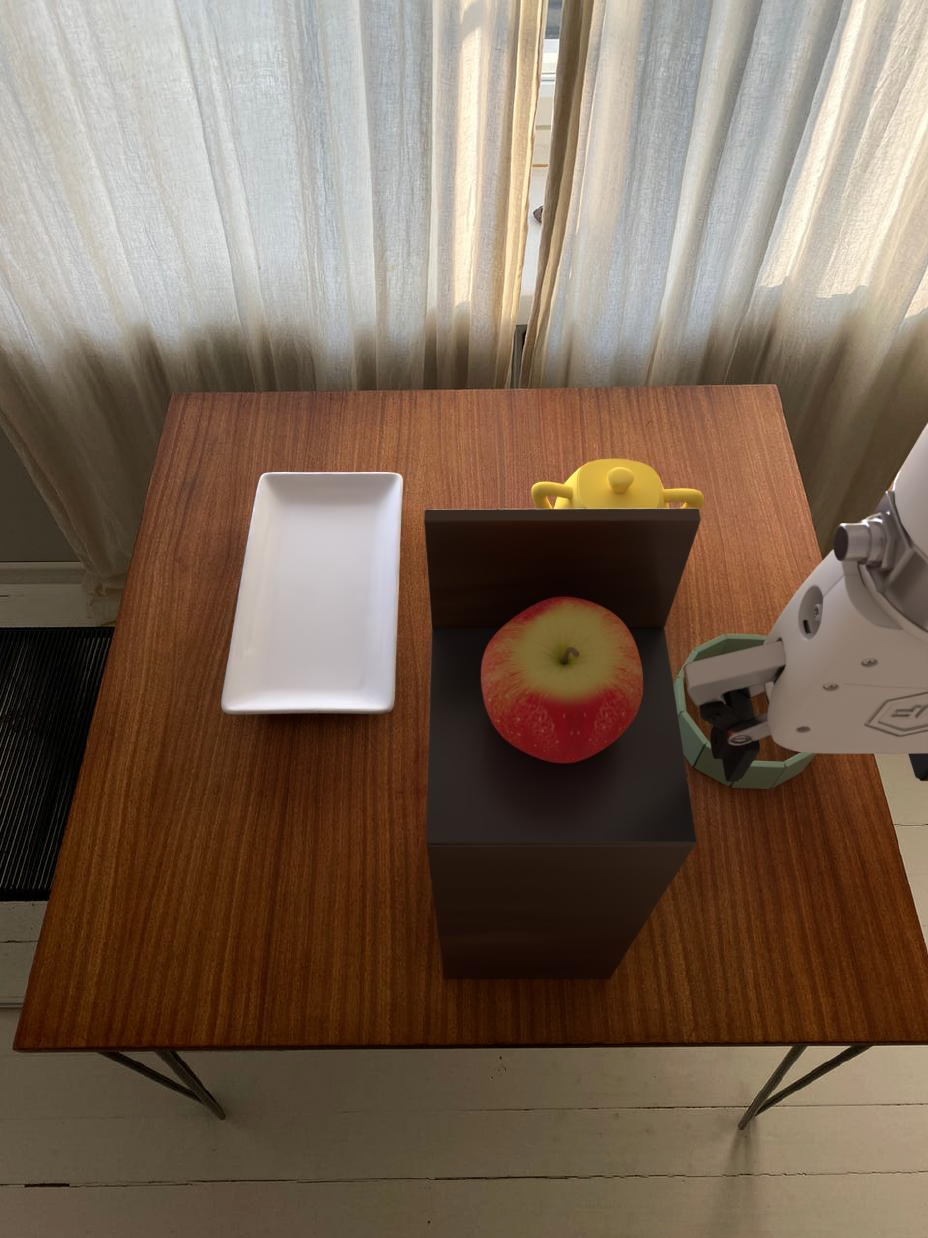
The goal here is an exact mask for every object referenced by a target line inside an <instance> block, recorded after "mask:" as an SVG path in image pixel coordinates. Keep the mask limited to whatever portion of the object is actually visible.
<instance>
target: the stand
mask: <svg viewBox="0 0 928 1238" xmlns="http://www.w3.org/2000/svg"><path fill="white" fill-rule="evenodd" d="M701 521H702V517H701V511H700V509H699V508H681V507H669V508H625V509H554V508H553V509H538V508H443V509H442V508H441V509H440V508H439V509H437V508H435V509H434V508H432V509H431V508H429V509H428V508H427V509H426V508H425V509H424V512H423V526H424V538H425V539H424V541H425V553H426V554H425V555H426V556H425V557H426V567H427V569H426V570H427V579H428V580H427V582H428V594H429V597H428V598H429V610H430V623H431V626H430V627H431V641H430V643H431V644H430V675H429V677H430V678H429V679H430V680H429V714H428V752H427V753H428V754H427V756H428V757H427V789H426V790H427V791H426V793H427V794H426V829H425V833H426V834H425V839H426V840H425V844H426V852H427V858H428V867H429V873H430V881H431V883H430V884H431V888H432V889H431V890H432V897H433V904H434V912H435V913H434V914H435V920H436V927H437V929H436V930H437V937H438V945H439V951H440V959H441V965H442V966H441V967H442V975H443V979H444V980H610V979H611V978H612V976H613V975H614V974H615V972H616V970H617V969H618V967H619V966H620V964H621V963H622V961H623V959H624V958H625V956H626V954H627V953H628V951H629V950H630V948H631V946H632V945H633V943H634V942H635V940H636V939H637V938H638V935H639V934H640V932H641V930H642V929H643V927H644V926H645V924H646V923H647V921H648V919H649V918H650V916H651V915H652V914H653V912H654V910H655V908H657V905H658V903H659V902H660V901H661V899H662V897H663V896H664V894H665V893H666V891H667V890H668V889H669V887H670V885H671V884H672V882H673V880H674V878H675V877H676V876H677V874H678V872H679V871H680V869H681V868H682V866H683V865H684V862H685V861H686V860H687V858H688V857H689V855H690V854H691V851H692V850H693V849H694V847H695V845H697V843H698V839H697V833H696V827H695V826H696V825H695V819H694V814H693V805H692V801H691V799H692V798H691V793H690V787H689V786H690V785H689V779H688V773H687V767H686V758H685V756H684V752H683V746H682V739H681V732H680V726H679V719H678V712H677V706H676V699H675V692H674V679H673V673H672V667H671V659H670V654H669V653H670V651H669V646H668V640H667V634H666V625H667V621H668V618H669V615H670V613H671V609H672V607H673V604H674V601H675V598H676V595H677V592H678V589H679V586H680V582H681V580H682V577H683V574H684V571H685V568H686V565H687V562H688V559H689V556H690V554H691V551H692V548H693V544H694V542H695V539H696V536H697V534H698V530H699V528H700V524H701ZM554 597H575V598H580V599H584V600H587V601H590V602H593V603H596V604H598V605H600V606H602V607H604V608H606V609H607V610H609V611H611V612H612V613H613V614H615V615H616V616H617V617H618V618H620V619H621V620H622V622H623V623H624V624H625V625H626V627H627V628H628V630H629V631H630V633H631V635H632V637H633V639H634V641H635V643H636V646H637V649H638V652H639V656H640V660H641V665H642V671H643V694H642V699H641V703H640V707H639V710H638V712H637V714H636V716H635V718H634V720H633V721H632V723H631V724H630V726H629V727H628V728H627V729H626V730H625V731H624V732H623V733H622V735H620V736H619V737H618V738H617V739H616V740H615V741H614V742H613V743H612V744H610V745H609V746H607V747H606V748H605V749H603V750H601V751H600V752H598V753H596V754H594V755H592V756H590V757H588V758H586V759H583V760H581V761H577V762H573V763H554V762H549V761H545V760H542V759H539V758H536V757H534V756H531V755H529V754H527V753H525V752H523V751H521V750H519V749H518V748H516V747H515V746H513V745H512V744H510V743H509V742H508V741H507V740H505V739H504V738H503V737H502V736H501V734H500V733H499V732H498V731H497V730H496V728H495V727H494V725H493V723H492V721H491V719H490V717H489V715H488V712H487V709H486V707H485V703H484V698H483V693H482V687H481V666H482V660H483V655H484V653H485V650H486V647H487V645H488V644H489V642H490V640H491V639H492V638H493V637H494V635H495V634H496V633H497V632H498V631H499V630H500V629H501V628H502V627H503V626H504V625H505V624H506V623H508V622H509V621H510V620H511V619H513V618H514V617H516V616H517V615H518V614H520V613H521V612H523V611H524V610H526V609H528V608H529V607H531V606H533V605H535V604H537V603H539V602H541V601H544V600H546V599H550V598H554Z"/></svg>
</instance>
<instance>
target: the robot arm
mask: <svg viewBox="0 0 928 1238" xmlns="http://www.w3.org/2000/svg"><path fill="white" fill-rule="evenodd" d="M832 546H833V548H832V550H830V552H829V553H828V554H827V555H826V556H825V557H824V559H823V560H822V561H821V562H820V563H819V564H818V565H817V566H816V567H815V568H814V569H813V570H812V572H811V573H810V574H809V576H808V577H807V578H806V579H805V580H804V582H802V584H801V585H800V586H799V588H798V589H797V590H796V592H795V593H794V595H793V596H792V597H791V599H790V600H789V601H788V603H787V604H786V606H785V607H784V608H783V610H782V612H781V613H780V615H779V616H778V617H777V619H776V621H775V623H774V624H773V625H772V628H771V629H770V631H769V632H768V634H767V635H766V636H767V638H766V640H765V642H764V644H763V645H760V646H756V647H752V648H748V649H744V650H740V651H735V652H731V653H727V654H723V655H719V656H715V657H711V658H706V659H702V660H698V661H694V662H690V663H687V664H686V665H685V666H684V667H683V666H682V667H683V670H684V676H685V688H686V694H687V695H688V697H689V698H690V700H691V701H692V703H693V704H694V706H695V707H696V708H698V710H699V714H700V718H701V719H702V720H704V721H705V722H707V723H709V724H711V725H712V727H711V730H710V732H709V733H710V734H709V742H710V743H711V749H712V755H713V757H714V759H722V762H723V767H724V773H725V778H726V781H727V782H738V781H739V779H742V778H743V776H744V775H745V773H746V771H747V770H748V768H749V767H750V765H751V764H752V762H753V761H755V759H756V758H757V756H758V754H759V752H760V751H761V743H760V740H762V739H764V738H767V737H770V736H771V738H772V741H773V742H774V743H776V745H778V746H780V747H782V748H784V749H787V750H790V751H794V752H799V753H801V752H805V753H816V754H835V755H837V754H841V755H842V754H844V755H845V754H847V755H849V754H850V755H851V754H855V755H856V754H857V755H859V754H860V755H867V754H870V755H872V754H873V755H876V754H877V755H881V754H882V755H885V754H886V755H888V754H889V755H892V754H893V755H894V754H895V755H897V754H899V755H902V754H907V755H908V758H909V761H910V764H911V767H912V771H913V774H914V777H915V778H916V779H917V780H919V781H920V782H928V422H927V423H926V425H925V426H924V428H923V430H922V431H921V433H920V435H919V436H918V438H917V440H916V442H915V444H914V445H913V447H912V448H911V450H910V452H909V454H908V455H907V457H906V459H905V460H904V462H903V464H902V465H901V467H900V469H899V471H898V472H897V474H896V476H895V478H894V479H893V480H892V482H891V484H890V486H889V488H888V489H887V490H885V491H884V493H883V495H882V497H881V499H880V501H879V502H878V504H877V505H876V507H875V508H874V510H873V512H872V514H871V515H870V516H867V517H865V519H861V520H858V522H857V523H839V524H838V525H837V527H836V528H835V531H834V533H833V540H832ZM763 693H764V694H765V698H766V703H767V711H766V712H763V713H761V714H759V715H757V716H756V714H755V709H754V705H753V700H752V699H751V698H754V697H756V696H759V695H760V694H763Z"/></svg>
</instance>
